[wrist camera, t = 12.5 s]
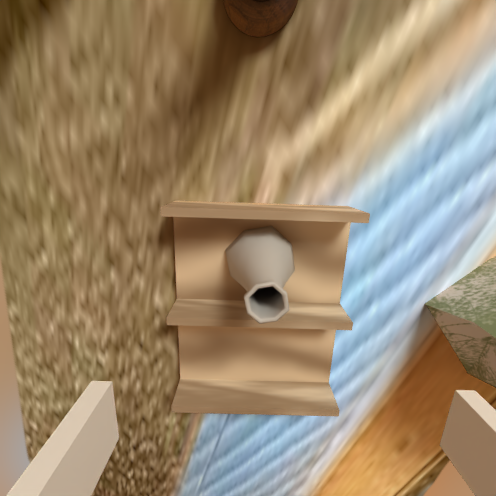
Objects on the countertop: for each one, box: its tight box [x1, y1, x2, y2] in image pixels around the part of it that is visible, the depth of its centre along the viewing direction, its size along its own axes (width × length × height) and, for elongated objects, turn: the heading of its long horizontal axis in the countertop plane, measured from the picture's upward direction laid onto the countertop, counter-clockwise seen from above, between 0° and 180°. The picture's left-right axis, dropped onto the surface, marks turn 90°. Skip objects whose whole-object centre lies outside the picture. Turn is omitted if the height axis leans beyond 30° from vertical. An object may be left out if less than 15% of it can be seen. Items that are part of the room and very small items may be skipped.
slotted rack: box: [160, 201, 370, 416], centre depth 29 cm, size 22×18×5 cm
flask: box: [225, 226, 295, 324], centre depth 24 cm, size 7×7×10 cm
